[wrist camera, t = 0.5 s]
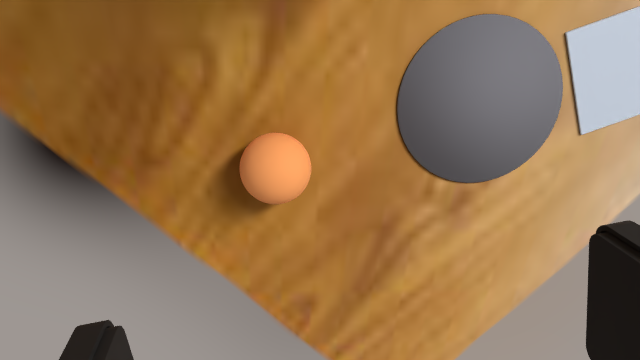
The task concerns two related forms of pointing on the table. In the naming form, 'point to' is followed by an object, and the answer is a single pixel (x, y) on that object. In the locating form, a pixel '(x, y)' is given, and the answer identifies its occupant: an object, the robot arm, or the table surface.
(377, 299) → the table surface
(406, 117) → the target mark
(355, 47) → the table surface
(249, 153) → the ball
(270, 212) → the table surface
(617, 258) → the robot arm
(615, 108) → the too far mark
